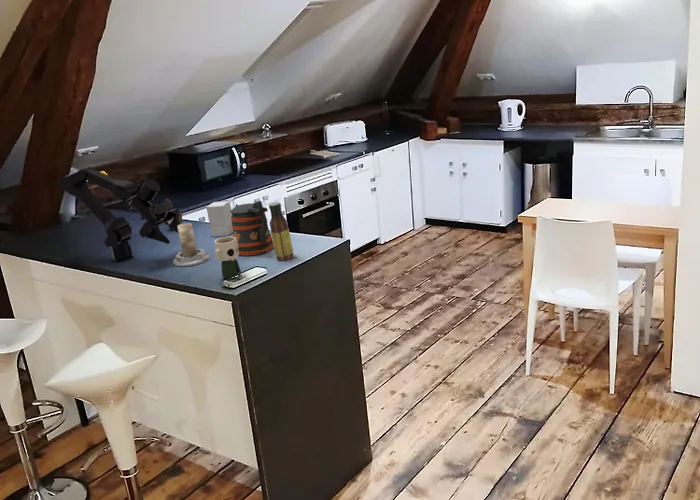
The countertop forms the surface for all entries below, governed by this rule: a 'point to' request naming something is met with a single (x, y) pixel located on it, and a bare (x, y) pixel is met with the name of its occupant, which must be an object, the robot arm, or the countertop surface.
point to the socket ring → (191, 259)
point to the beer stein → (251, 229)
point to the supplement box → (220, 218)
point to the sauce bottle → (280, 233)
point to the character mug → (228, 256)
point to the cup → (179, 216)
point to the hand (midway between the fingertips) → (176, 238)
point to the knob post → (187, 239)
